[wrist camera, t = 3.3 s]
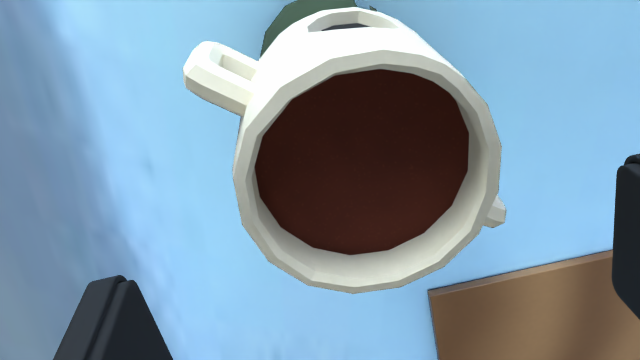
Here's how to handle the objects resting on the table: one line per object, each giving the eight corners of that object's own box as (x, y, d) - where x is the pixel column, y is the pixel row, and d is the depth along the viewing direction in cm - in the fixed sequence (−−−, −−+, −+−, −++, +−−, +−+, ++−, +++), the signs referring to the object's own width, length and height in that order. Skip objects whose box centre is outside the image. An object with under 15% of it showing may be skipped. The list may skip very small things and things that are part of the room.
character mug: (462, 43, 26) (618, 156, 14) (385, 166, 28) (463, 346, 17) (252, -75, 23) (229, -55, 11) (188, 74, 25) (116, 215, 14)
